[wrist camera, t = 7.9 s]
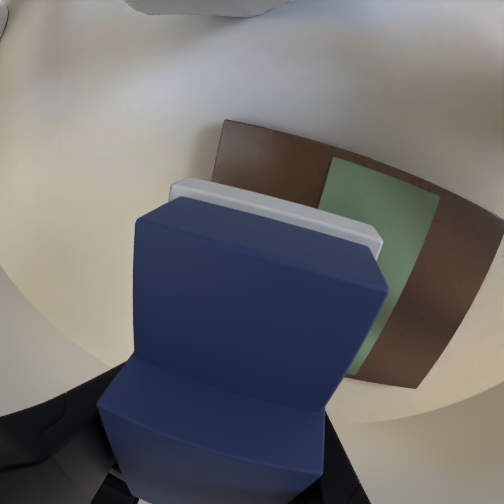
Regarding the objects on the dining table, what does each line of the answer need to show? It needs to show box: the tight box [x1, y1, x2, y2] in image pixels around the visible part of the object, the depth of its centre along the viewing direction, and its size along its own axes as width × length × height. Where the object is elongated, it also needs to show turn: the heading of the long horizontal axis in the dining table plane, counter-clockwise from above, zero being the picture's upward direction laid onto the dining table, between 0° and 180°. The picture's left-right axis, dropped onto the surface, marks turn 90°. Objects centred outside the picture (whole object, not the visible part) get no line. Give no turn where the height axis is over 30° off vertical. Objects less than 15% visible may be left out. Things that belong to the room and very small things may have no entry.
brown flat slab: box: [211, 120, 504, 389], centre depth 17 cm, size 14×18×1 cm
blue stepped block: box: [96, 177, 389, 504], centre depth 7 cm, size 11×5×5 cm, turn 168°
